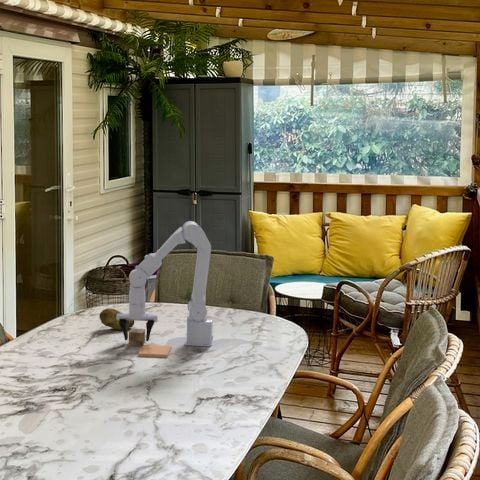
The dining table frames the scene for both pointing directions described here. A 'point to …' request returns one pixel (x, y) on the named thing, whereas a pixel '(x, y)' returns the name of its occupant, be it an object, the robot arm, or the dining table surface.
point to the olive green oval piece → (112, 319)
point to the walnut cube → (136, 337)
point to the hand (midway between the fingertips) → (136, 340)
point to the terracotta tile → (155, 351)
